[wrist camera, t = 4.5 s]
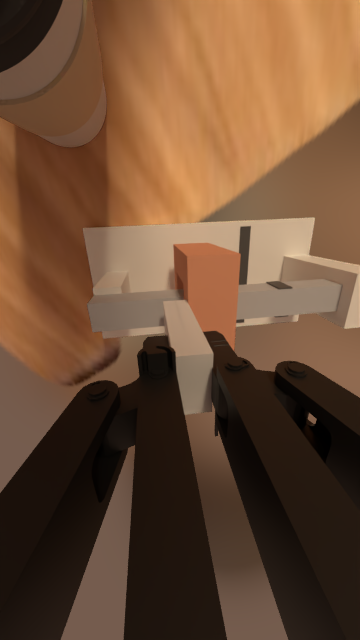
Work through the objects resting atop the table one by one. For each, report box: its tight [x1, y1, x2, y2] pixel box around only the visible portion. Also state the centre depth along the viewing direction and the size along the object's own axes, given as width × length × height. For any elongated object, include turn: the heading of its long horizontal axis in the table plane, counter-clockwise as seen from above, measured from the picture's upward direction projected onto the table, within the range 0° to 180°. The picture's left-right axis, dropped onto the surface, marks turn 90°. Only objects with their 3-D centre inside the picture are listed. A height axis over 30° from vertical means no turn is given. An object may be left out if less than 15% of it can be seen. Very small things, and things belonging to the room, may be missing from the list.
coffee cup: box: [0, 0, 107, 147], centre depth 11 cm, size 9×9×15 cm
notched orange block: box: [173, 243, 241, 351], centre depth 18 cm, size 8×3×8 cm, turn 2°
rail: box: [82, 218, 360, 339], centre depth 20 cm, size 11×22×10 cm, turn 93°
